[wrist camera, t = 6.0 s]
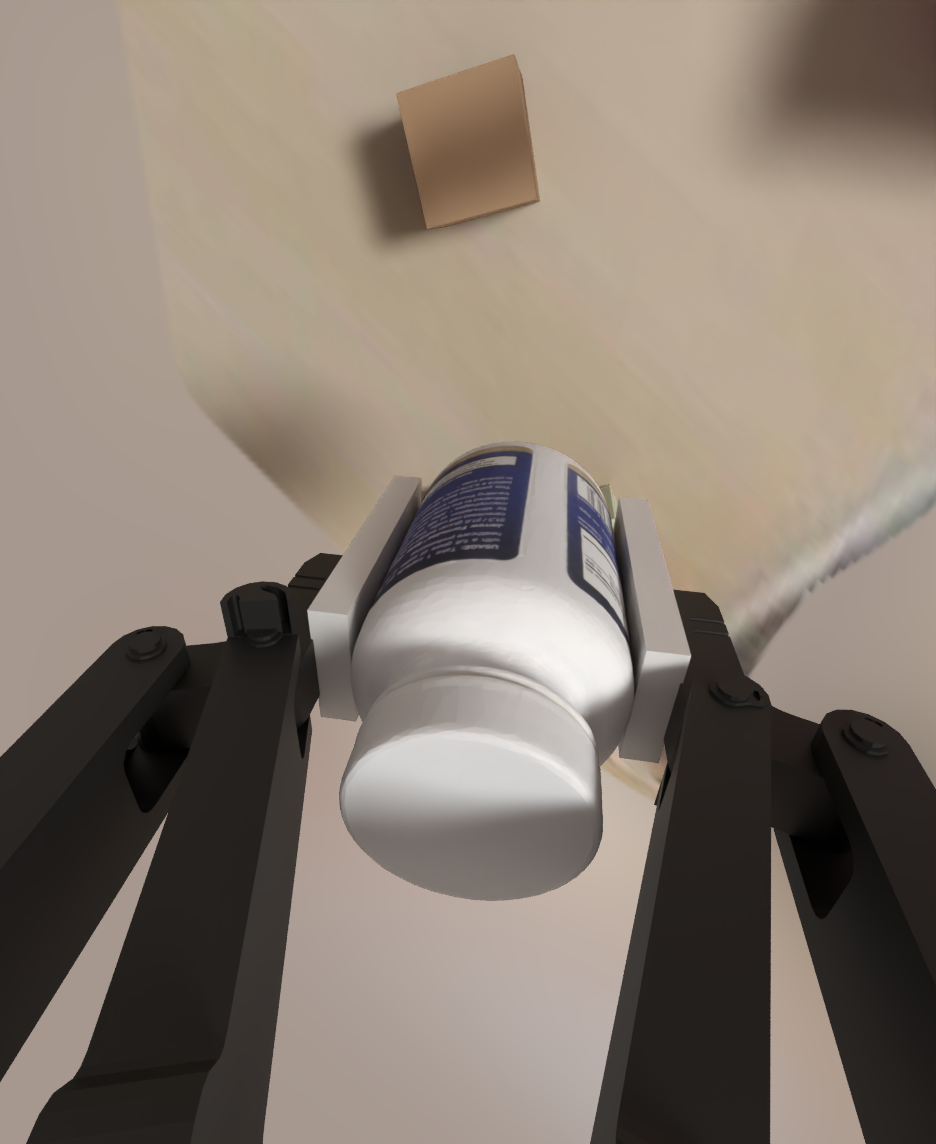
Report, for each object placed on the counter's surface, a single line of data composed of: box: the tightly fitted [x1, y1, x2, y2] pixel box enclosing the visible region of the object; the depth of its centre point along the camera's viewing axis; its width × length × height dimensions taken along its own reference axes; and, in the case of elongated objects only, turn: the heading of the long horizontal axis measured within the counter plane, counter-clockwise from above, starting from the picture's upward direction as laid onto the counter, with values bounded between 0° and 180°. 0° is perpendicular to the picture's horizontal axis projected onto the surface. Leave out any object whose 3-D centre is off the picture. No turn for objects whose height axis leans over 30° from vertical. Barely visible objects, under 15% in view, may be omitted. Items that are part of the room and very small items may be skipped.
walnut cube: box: [396, 54, 540, 229], centre depth 27 cm, size 5×5×5 cm
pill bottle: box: [339, 442, 634, 901], centre depth 13 cm, size 5×5×10 cm
